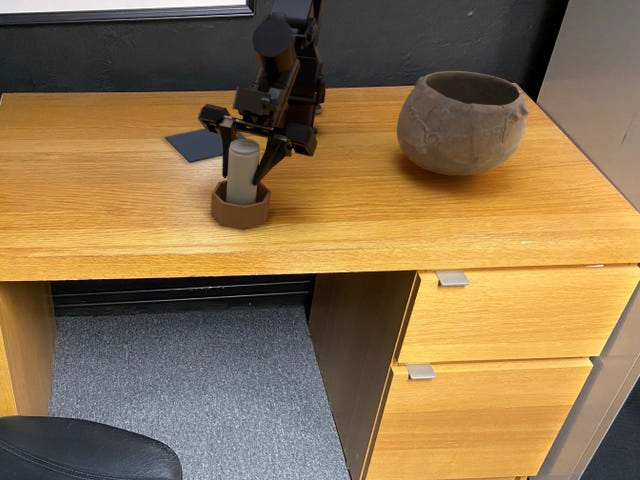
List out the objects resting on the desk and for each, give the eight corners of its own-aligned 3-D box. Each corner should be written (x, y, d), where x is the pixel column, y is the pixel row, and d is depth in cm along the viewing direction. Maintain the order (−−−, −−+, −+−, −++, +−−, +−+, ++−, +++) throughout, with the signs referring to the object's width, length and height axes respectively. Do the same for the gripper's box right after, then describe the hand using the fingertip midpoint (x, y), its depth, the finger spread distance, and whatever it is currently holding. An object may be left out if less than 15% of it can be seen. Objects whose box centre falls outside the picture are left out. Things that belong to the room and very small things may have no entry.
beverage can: (252, 222, 113) (258, 154, 105) (223, 219, 114) (226, 151, 105) (256, 207, 116) (262, 139, 108) (227, 204, 117) (231, 137, 109)
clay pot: (374, 143, 133) (391, 64, 123) (479, 139, 135) (504, 59, 124) (411, 199, 118) (433, 114, 108) (529, 193, 119) (562, 108, 109)
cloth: (228, 125, 139) (228, 123, 139) (255, 147, 132) (255, 146, 132) (165, 138, 135) (165, 136, 135) (189, 162, 128) (189, 161, 128)
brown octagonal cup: (250, 195, 119) (252, 173, 116) (277, 220, 113) (279, 198, 110) (203, 206, 116) (204, 185, 114) (228, 233, 111) (229, 211, 108)
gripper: (204, 51, 105) (169, 149, 105) (321, 73, 98) (283, 178, 99) (224, 85, 115) (192, 174, 116) (331, 107, 109) (297, 201, 109)
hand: (238, 181), depth 109 cm, fingers closed on beverage can, 5 cm apart
